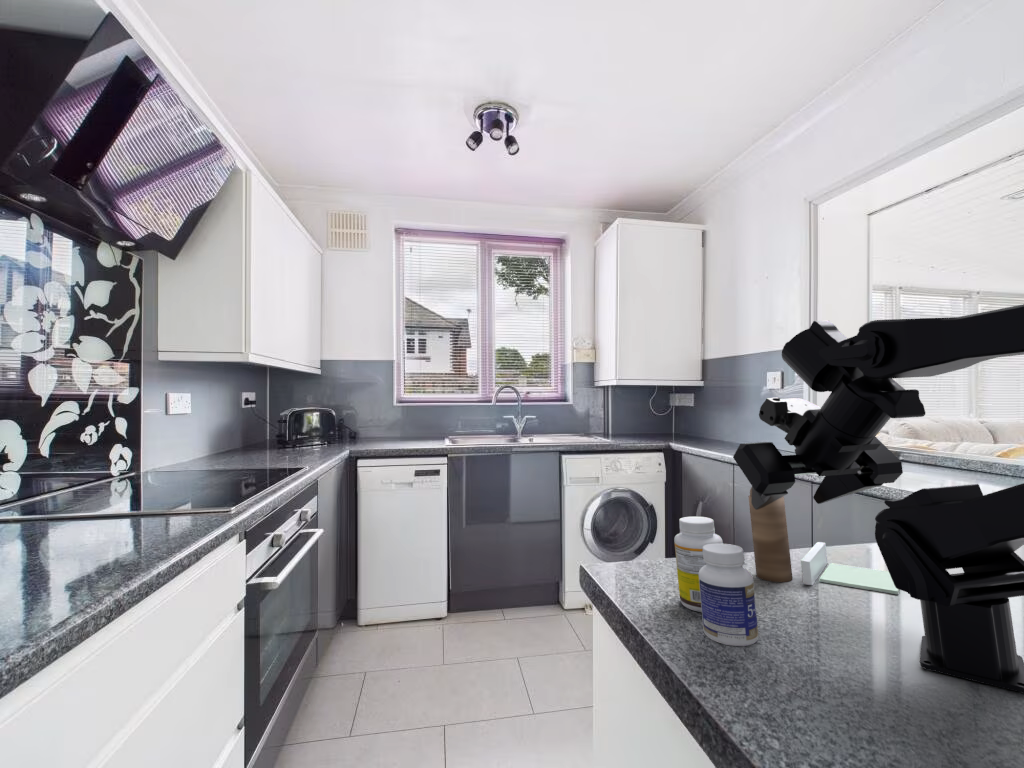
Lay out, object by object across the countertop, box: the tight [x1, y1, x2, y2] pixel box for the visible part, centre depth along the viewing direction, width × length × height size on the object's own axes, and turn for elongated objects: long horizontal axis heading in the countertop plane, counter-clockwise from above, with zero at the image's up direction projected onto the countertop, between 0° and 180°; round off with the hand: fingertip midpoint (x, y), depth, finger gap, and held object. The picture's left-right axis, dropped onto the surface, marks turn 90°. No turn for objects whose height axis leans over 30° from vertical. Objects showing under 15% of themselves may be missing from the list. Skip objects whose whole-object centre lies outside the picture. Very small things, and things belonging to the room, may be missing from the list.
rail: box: [800, 541, 829, 586], centre depth 64 cm, size 11×1×3 cm, turn 137°
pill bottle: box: [699, 543, 760, 647], centre depth 48 cm, size 5×5×9 cm
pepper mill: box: [748, 486, 794, 583], centre depth 64 cm, size 4×4×13 cm
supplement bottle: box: [673, 516, 724, 613], centre depth 56 cm, size 6×6×10 cm
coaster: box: [819, 562, 900, 595], centre depth 61 cm, size 8×8×1 cm
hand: (785, 503), depth 61 cm, fingers open, 9 cm apart
